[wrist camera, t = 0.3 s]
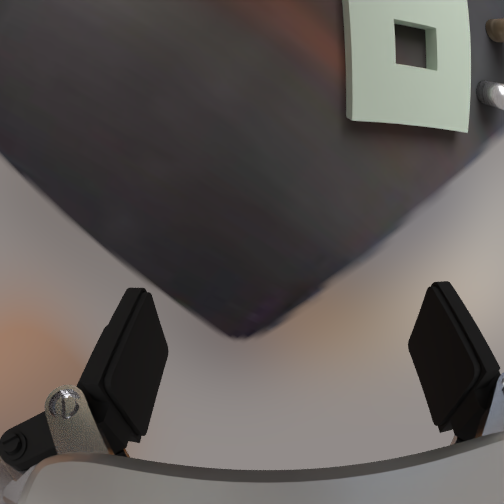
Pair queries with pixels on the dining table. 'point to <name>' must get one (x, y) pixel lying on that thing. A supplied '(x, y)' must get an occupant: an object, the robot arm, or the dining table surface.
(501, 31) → the birch pin
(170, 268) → the dining table surface
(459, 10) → the hole board
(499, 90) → the steel pin
